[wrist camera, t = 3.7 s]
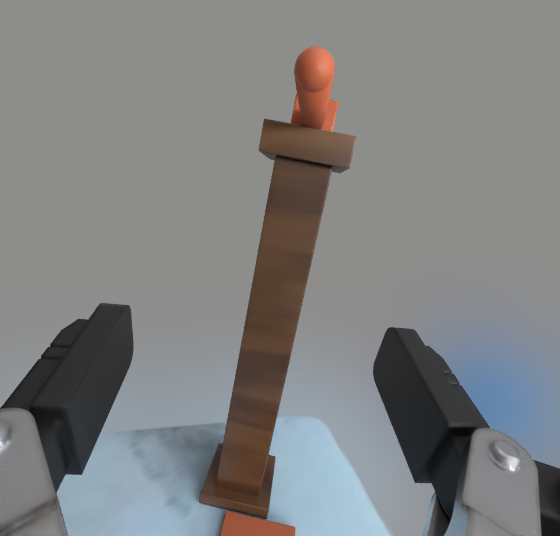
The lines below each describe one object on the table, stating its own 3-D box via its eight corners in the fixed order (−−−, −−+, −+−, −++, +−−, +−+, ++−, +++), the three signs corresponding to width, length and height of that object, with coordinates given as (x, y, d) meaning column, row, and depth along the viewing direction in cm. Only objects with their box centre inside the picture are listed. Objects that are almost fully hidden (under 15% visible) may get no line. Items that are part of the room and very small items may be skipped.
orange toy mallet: (349, 93, 13) (364, 22, 12) (271, 78, 13) (283, 7, 12) (328, 144, 28) (335, 113, 27) (292, 137, 28) (298, 106, 27)
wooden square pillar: (266, 521, 29) (356, 136, 21) (198, 505, 29) (263, 118, 22) (274, 462, 35) (346, 148, 28) (218, 449, 35) (274, 134, 28)
